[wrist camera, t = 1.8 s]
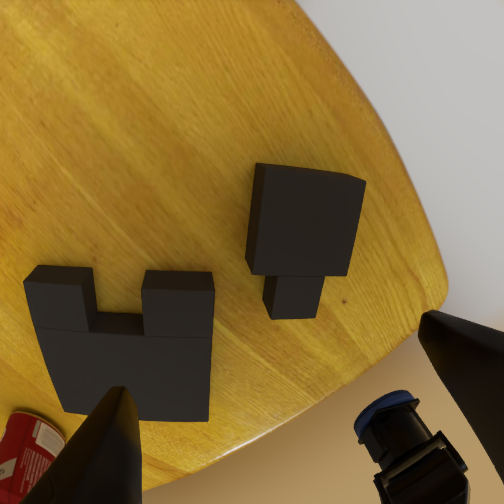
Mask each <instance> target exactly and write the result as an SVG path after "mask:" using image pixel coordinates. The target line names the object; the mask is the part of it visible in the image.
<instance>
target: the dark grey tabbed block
mask: <svg viewBox="0 0 504 504" xmlns="http://www.w3.org/2000/svg"><path fill="white" fill-rule="evenodd" d="M365 186H366V181H365V180H362V179H359V178H357V177H354V176H351V175H348V174H343V173H336V172H330V171H323V170H315V169H308V168H300V167H292V166H283V165H274V164H265V163H256V165H255V174H254V183H253V191H252V200H251V209H250V218H249V227H248V235H247V244H246V253H245V259H246V261H247V264H248V266H249V268H250V271H251V273H252V275H265V276H266V277H265V284H264V291H263V298H262V300H263V302H264V305H265V307H266V310H267V312H268V314H269V317H270V319H271V320H278V319H309V318H315V317H316V313H317V309H318V305H319V301H320V296H321V292H322V288H323V283H324V279H325V276H347V272H348V268H349V264H350V259H351V255H352V251H353V246H354V242H355V237H356V232H357V228H358V223H359V218H360V213H361V208H362V203H363V197H364V192H365Z"/></svg>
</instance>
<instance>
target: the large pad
mask: <svg viewBox="0 0 504 504" xmlns="http://www.w3.org/2000/svg"><path fill="white" fill-rule="evenodd" d="M23 284H24V289H25V293H26V298H27V302H28V306H29V310H30V314H31V318H32V322H33V325H34V328H35V332H36V335H37V339H38V342H39V345H40V348H41V351H42V354H43V357H44V360H45V363H46V366H47V369H48V372H49V375H50V377H51V380H52V383H53V385H54V388H55V390H56V393H57V395H58V398H59V400H60V403H61V405H62V407H63V410H64V412H69V413H75V414H82V415H89V414H90V413H91V412H92V411H93V409H94V408H95V407H96V405H97V404H98V403H99V402H100V400H101V399H102V398H103V397H104V395H105V394H106V393H107V392H108V390H109V389H110V388H111V387H113V386H126V387H127V389H128V390H129V392H130V394H131V396H132V398H133V399H134V401H135V403H136V405H137V408H138V417H139V420H143V421H166V422H208V421H209V394H210V371H211V350H212V333H213V316H214V300H215V288H214V282H213V276H212V272H189V271H159V270H146V272H145V276H144V280H143V284H142V288H141V297H142V312H143V314H126V313H109V312H97V311H98V310H97V303H96V296H95V288H94V279H93V270H92V268H86V267H66V266H48V265H38V266H37V267H36V268H35V269H34V270H33V271H32V272H31V273H30V274H29V275H28V277H27V278H26V279H25V280H24V281H23Z"/></svg>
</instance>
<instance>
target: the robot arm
mask: <svg viewBox="0 0 504 504" xmlns="http://www.w3.org/2000/svg"><path fill="white" fill-rule="evenodd" d="M418 338H419V341H420V343H421V345H422V347H423V348H424V350H425V352H426V354H427V356H428V358H429V359H430V361H431V363H432V365H433V367H434V369H435V371H436V372H437V374H438V376H439V377H440V379H441V381H442V382H443V384H444V385H445V387H446V388H447V390H448V391H449V392H450V394H451V396H452V397H453V399H454V400H455V402H456V403H457V405H458V407H459V408H460V410H461V411H462V413H463V414H464V416H465V418H466V419H467V421H468V423H469V424H470V425H471V427H472V429H473V431H474V432H475V434H476V436H477V437H478V439H479V441H480V442H481V444H482V446H483V447H484V449H485V451H486V453H487V454H488V456H489V458H490V460H491V461H492V463H493V465H494V466H495V469H496V471H497V473H498V474H499V476H500V478H501V480H502V482H503V484H504V332H502V331H499V330H496V329H493V328H489V327H486V326H483V325H480V324H477V323H474V322H471V321H467V320H465V319H461V318H458V317H455V316H452V315H449V314H446V313H443V312H440V311H437V310H430V311H427V312H425V313H423V314H422V316H421V320H420V325H419V330H418ZM419 403H420V400H419V399H418V398H417V399H413V400H410V401H406V402H403V403H399V404H395V405H392V406H388V407H384V408H380V409H378V410H376V411H375V412H374V414H373V416H372V418H371V420H370V421H369V423H368V425H367V427H366V428H365V430H364V432H363V433H362V435H361V437H360V438H359V440H358V443H359V444H360V445H361V444H365V446H366V448H367V450H368V452H369V454H370V456H371V457H372V459H373V461H374V462H375V463H378V464H379V465H380V468H381V469H382V471H381V472H380V473H377V474H375V475H374V477H375V479H374V480H373V482H374V484H375V486H376V488H377V490H378V492H379V496H380V500H381V504H469V502H470V485H469V482H468V480H467V478H466V476H465V475H464V473H465V472H466V471H467V470H468V468H467V466H466V464H465V462H464V461H463V459H462V458H461V456H460V455H459V453H458V452H457V451H456V450H455V448H454V447H453V446H452V444H451V443H450V442H449V441H448V439H447V438H446V437H445V435H444V434H443V433H442V432H441V430H440V431H438V432H437V434H435V435H434V436H433V435H432V434H431V432H430V431H429V429H428V428H427V426H426V425H425V424H424V422H423V421H422V419H421V418H420V417H419V415H418V414H417V413H416V411H415V409H416V407H417V406H418V404H419ZM442 447H444V448H442ZM440 448H442V449H440ZM18 504H142V453H141V442H140V430H139V417H138V408H137V405H136V403H135V401H134V399H133V398H132V396H131V394H130V392H129V390H128V389H127V387H126V386H113V387H111V388H110V389H109V390H108V392H107V393H106V394H105V395H104V397H103V398H102V399H101V400H100V402H99V403H98V404H97V405H96V407H95V408H94V409H93V411H92V412H91V413H90V414H89V416H88V417H87V418H86V419H85V421H84V422H83V423H82V424H81V426H80V427H79V428H78V430H77V431H76V432H75V433H74V435H73V436H72V437H71V438H70V440H69V441H68V442H67V444H66V445H65V446H64V448H63V449H62V450H61V451H60V453H59V454H58V455H57V457H56V458H55V459H54V460H53V462H52V463H51V464H50V466H49V467H48V470H46V471H45V472H44V473H43V475H42V476H41V477H40V479H39V480H38V481H37V482H36V484H35V485H34V486H33V487H32V489H31V490H30V491H29V492H28V493H27V494H26V496H25V497H24V498H23V499H22V500H21V501H20V502H19V503H18Z"/></svg>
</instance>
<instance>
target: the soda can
mask: <svg viewBox="0 0 504 504" xmlns="http://www.w3.org/2000/svg"><path fill="white" fill-rule="evenodd" d="M65 445H66V440H65V438H64V436H63V434H62V433H61V432H60V431H59V430H58V429H57V428H56V427H55V426H54V425H53V424H51V423H50V422H49V421H47V420H46V419H44V418H42V417H40V416H38V415H36V414H33V413H28V412H23V411H16V412H13V413H12V414H11V415H10V417H9V419H8V422H7V425H6V427H5V430H4V432H3V435H2V438H1V441H0V504H18V503H19V502H20V501H21V500H22V499H23V498H24V497H25V496H26V494H27V493H28V492H29V491H30V490H31V489H32V487H33V486H34V485H35V484H36V482H37V481H38V480H39V479H40V477H41V476H42V475H43V473H44V472H45V471H46V470H48V467H49V466H50V464H51V463H52V462H53V460H54V459H55V458H56V457H57V455H58V454H59V453H60V451H61V450H62V449H63V448H64V446H65Z"/></svg>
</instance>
